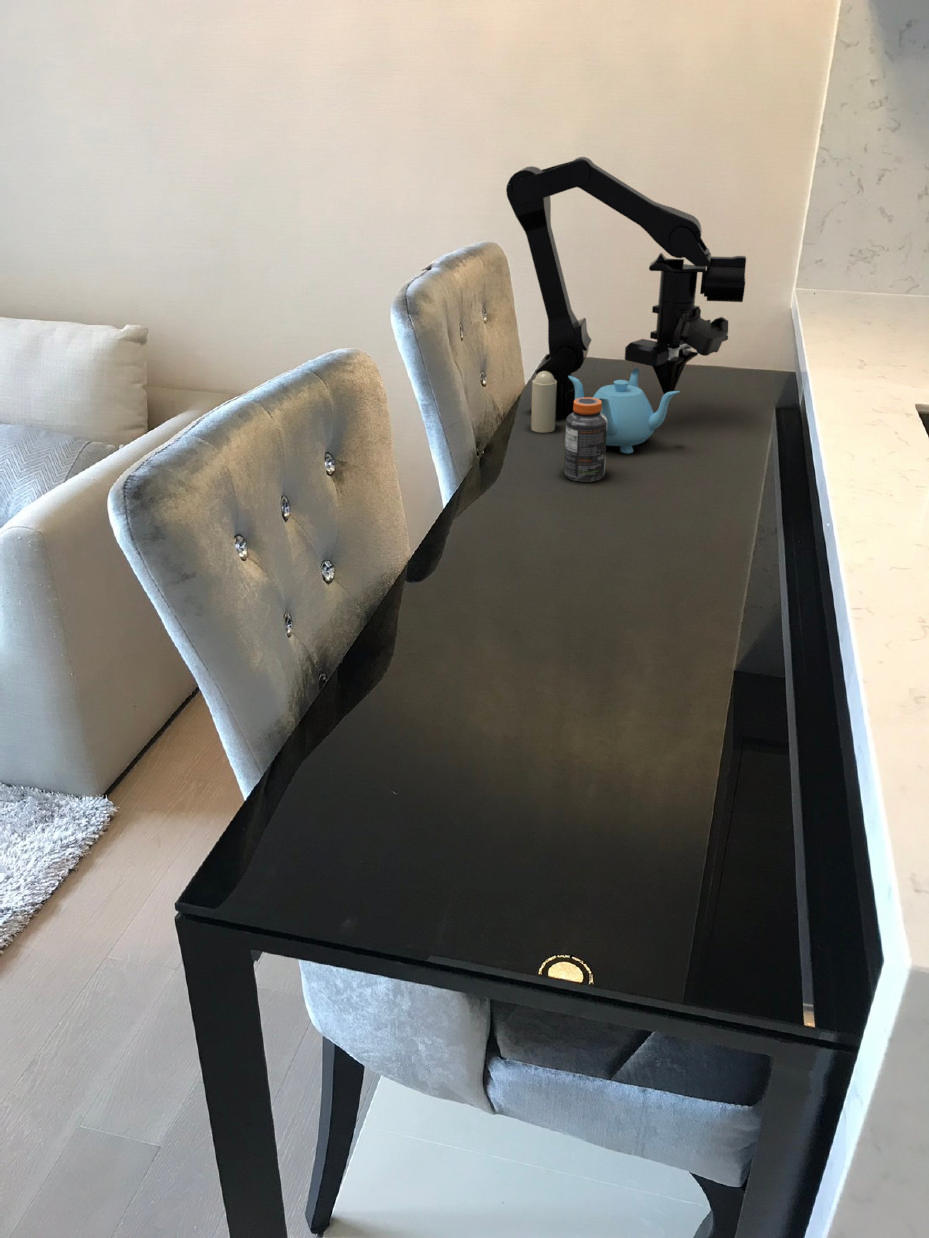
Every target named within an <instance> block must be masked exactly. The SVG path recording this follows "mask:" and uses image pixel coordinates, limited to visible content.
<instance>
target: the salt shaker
mask: <svg viewBox="0 0 929 1238" xmlns="http://www.w3.org/2000/svg"><path fill="white" fill-rule="evenodd" d="M556 394H557V381H556V380H555V379H554V377H553V375H552V374H551V373H550V372H548V371H542V372H540V373H538V374H536V375H535V378H534V379H532V380H531V407H530V409H531V412H530V413H531V415H530V430H531V431H533V432H535V433H543V434H544V433H545V434H546V433H551V432H554V431H555V430H556V420H557V419H556Z"/></svg>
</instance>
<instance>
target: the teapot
mask: <svg viewBox="0 0 929 1238" xmlns="http://www.w3.org/2000/svg"><path fill="white" fill-rule="evenodd" d="M639 375H640V369H639V368H634V369H633V370H632V371H631V374H630V377H629V380H625V379H616V380H614V381H613V384H608V385H603V386H601V387H599V389H598V390H596V392H595V393H594V395H593V396H592V398H597V399H599V400H601V401H602V410H601V413H602V414H603V415H604V416H605V417H606V418H607V438H606V446H611V447H619V448H620V449H619V450H620V452H621V453H623V454H631V453H634V448H633V446H636V445H640V444H642V443H644V442H646V441H647V440H648V439H649V438H650V437H651V436H652V435H653V434H654V432H655V430H656V429H658V428H659V427H661V425H662V424H663V423H664V422H665V419H666V416H667V414H668V413H667V412H668V407H669V403H670V401H671V399H672V398H673V397H674V396H676V395H677V394H679V393H680V392H681V391H680V390H674V391H672V392H667V393H666V394H664V393H663V395H662V397H661V400H660V403H659V406H658V409H657V410H656V411H655V412H654V410H653V408H652V405H651V402H650V401H649V398H648V397H647V396H646V394H645V392H644V391H643V390H642V388H640V387H639ZM572 376H573V375H572ZM572 376H568V377H569V379H570V380H571V381H572V382H573V384H574V387H575V399H578V398H584V397H585V393H584V387H583V384H582V382H581V380H580V379H579V378H577V377H575V376H573V377H572Z"/></svg>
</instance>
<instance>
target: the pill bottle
mask: <svg viewBox="0 0 929 1238" xmlns="http://www.w3.org/2000/svg"><path fill="white" fill-rule="evenodd" d="M601 410H602V401H601V400H599V399H597V398H593V397H589V396H587V397H586V396H584V398H578V399H575V400H574V406H573V411H574V412H573V413H571V414H570V415H569V416H567V417H566V419H565V435H564V437H565V439H564V463H563V464H564V465H563V474H564V476H565V477H566V478H567V479H569V480H571V481H576V482H582V483H584V482H585V483H586V482H588V483H589V482H595V481H599V480H601V479H603V478H604V476H605V470H606V456H607V455H606V454H607V452H606V451H607V445H606V438H607V418H606V417H605V416H604V415H603V414H602V413H601Z"/></svg>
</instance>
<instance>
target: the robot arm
mask: <svg viewBox="0 0 929 1238" xmlns="http://www.w3.org/2000/svg"><path fill="white" fill-rule="evenodd" d="M576 188H577V189H581V191H584V192H585V193H586V194H588V195H590V196H591V197H593V198H595V199H596V200H598V201H600V202H601V203H603V204H604V205H606V206H608V207H609V208H610V209H612V210H614V211H616V212H617V213H619V214H620V215H622V216H623V217H625V218H627V219H628V220H630V221H631V222H633V223H635V224H637V226H639V227H640V228H642V229H643V230H644V231H645V232H646V233H647V235H649V237H650V238H652V240H653V241H654V242H655V243H656V244H657V245H658V246H660V247H661V248H662V249H663V250H664V252H666V253H667V254H668V255H670V256H671V257H673V258H667V257H666V256H665V255H664V253H662V252H660V253H659V254H658V256H657V257H656V258H655V259H654V260H653V261H651V262H650V264H649V267H648V270H649V271H650V272H660V277H659V278H660V279H659V291H658V302H657V304H655V305H653V306H652V307H651V308H652V309H651V310H652V311H651V312H652V314H657V316H656V327H655V330H652V331H651V332H650V336H649V338H650V339H651V340H650V339H645V338H641V339H637V340H635V341H632V342H629V344H627V345H626V346H625V347H624V361H625V362H626V361H627V362H632V363H636V364H640V365H646V366H649V367H652V369H653V371H654V374H655V376H656V378H657V381H658V383H659V385H660V388H661V390H662V393H663V395H664V394H666V393H667V392H672V391H676V387H677V385H678V382H679V380H680V377H681V376H682V373H683V370H684V368H685V366H686V365H687V364H688V362H690V361H692V359H693V358H695V357H697V356H698V355H700V356H704V357H708V356H710V355H711V354H713V353H718V352H719V351H720V348H721V346H722V344H723V342H725V341H728V340H729V335H728V334H729V320H727V319H726V318H725V317H723V316H720V317H717V318H715V319H713V320H711V319H707V320H706V319H704V318H702V316H701V314H702V309H701V308H700V307H701V306H700V305H696V295H697V294H696V293H697V283H698V273H701V282H700V291H699V293H700V294H699V295H703V297H704V298H706V302H725V303H726V302H727V303H728V302H729V303H743V302H744V296H745V288H746V267H747V265H746V264H747V257H746V255H734V256H712V253H711V252H710V248H708V247H707V245H706V244H705V242H704V240H703V238H702V233H703V230H702V226H701V225H702V224H701V223H700V220H699V219H698V218H697V217H695V216H694V215H692V214H690V213H688V212H685V211H682V210H680V209H677V208H675V207H672V206H669V205H665V204H661V203H659V202H656V201H654V200H652V199H651V198H650V197H648V196H647V195H645V194H643V193H642V192H640V191H638V190H637V189H635V188H634V187H632V186H630V185H629V184H627V183H625V182H624V181H622V180H621V179H619V178H618V177H616V176H614V175H613V174H611V173H609V172H608V171H606V170H604V169H603V168H602V167H600V166H598V165H596V164H595V163H594V162H593V160H592V159H590V158H589V157H586V156H579V157H576V158H575V159H573V160H572V161H568V162H563V163H560V164H556V165H552V166H550V167H547V168H544V169H541V168H539V167H536V166H531V165H530V166H526V167H524V168H521V169H520V170H518V171H517V172H515V173H513V175H512V176H510V178H509V180H508V182H507V184H506V189H505V191H506V192H505V193H506V198H507V200H508V203H509V205H510V207H511V209H512V211H513V214H514V216H515V218H516V220H517V221H518V223H519V225H520V226H521V228H522V230H523V231H524V233H525V235H526V240H527V243H528V247H529V250H530V254H531V255H530V256H531V258H532V262H533V267H534V270H535V275H536V278H537V283H538V284H539V290H540V293H541V297H542V302H543V306H544V310H545V313H546V317H547V344H548V354H547V355H546V356H544V358H543V359H542V361H541V363H540V364H539V366H538V367H537V369H536V371H535V374H536V375H537V374H538V373H540V372H542V371H548V372H550V373H551V374H552V375H553V377H554V379H555V380H556V381H557V394H556V420H562V419H564V418H567V417H568V416H569V415H570V414H571V413H573V412H574V411H573V406H574V400H575V387H574V384H573V382H572V381H571V380H570V379H569V377H568V376H572V377H574V376H573V375H572V374H573V373H575V372H577V371H579V370H580V369H581V367H582V366H583V364H584V362H585V360H586V358H587V356H588V353H589V350H590V344H591V343H592V338H591V337H590V335H589V332H588V326H587V325H588V324H587V319H586V317H583V318H581V319H579V320H578V318H577V316H576V314H575V313H574V312H573V311H574V310H573V309H572V305H571V302H570V299H569V298H570V297H569V294H568V290H567V285H566V282H565V277H564V273H563V268H562V265H561V260H560V257H559V253H558V248H557V245H556V241H555V236H554V232H553V228H552V220H551V219H552V218H551V215H552V213H551V211H552V209H551V207H552V205H551V203H552V202H551V196H554V195H558V194H560V193H563V192H566V191H569V190H571V189H576ZM685 260H688V262H690V264H686V263H685ZM655 340H656V341H655ZM692 349H693V350H695V351H692ZM529 412H530V413H531V408H530V409H529Z"/></svg>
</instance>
